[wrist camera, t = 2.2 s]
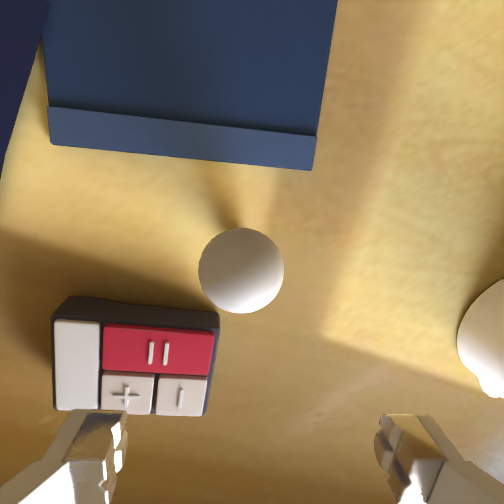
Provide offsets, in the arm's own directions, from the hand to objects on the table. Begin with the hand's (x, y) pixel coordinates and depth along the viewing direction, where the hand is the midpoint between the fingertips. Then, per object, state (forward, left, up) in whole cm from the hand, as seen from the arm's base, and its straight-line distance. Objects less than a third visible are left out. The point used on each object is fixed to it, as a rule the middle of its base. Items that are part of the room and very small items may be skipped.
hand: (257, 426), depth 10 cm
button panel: (+9, +13, -21) cm, 26 cm away
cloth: (+5, -14, -21) cm, 26 cm away
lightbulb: (0, 0, -21) cm, 21 cm away
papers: (+33, -11, -21) cm, 41 cm away
